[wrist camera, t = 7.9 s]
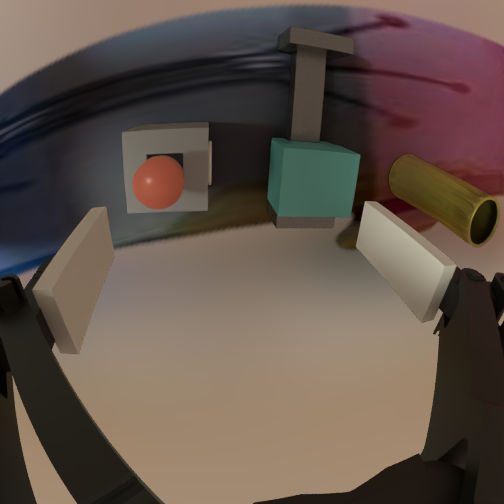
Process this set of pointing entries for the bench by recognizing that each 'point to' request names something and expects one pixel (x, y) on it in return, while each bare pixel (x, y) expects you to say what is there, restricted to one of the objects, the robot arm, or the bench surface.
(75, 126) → the bench surface
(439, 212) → the vase
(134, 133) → the grey cube housing
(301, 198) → the block
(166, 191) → the red ball knob
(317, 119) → the rail
